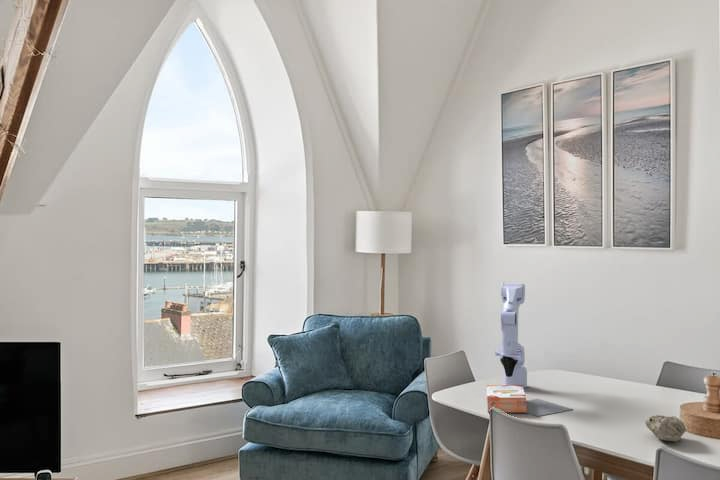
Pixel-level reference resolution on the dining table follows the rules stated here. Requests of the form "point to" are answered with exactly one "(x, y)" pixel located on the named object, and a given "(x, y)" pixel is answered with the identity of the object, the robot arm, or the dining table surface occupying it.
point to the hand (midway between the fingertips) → (509, 376)
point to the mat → (543, 408)
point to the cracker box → (506, 398)
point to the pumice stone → (666, 427)
